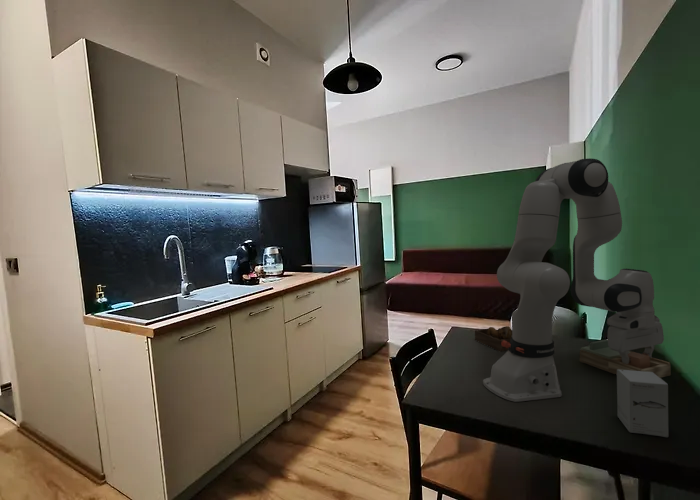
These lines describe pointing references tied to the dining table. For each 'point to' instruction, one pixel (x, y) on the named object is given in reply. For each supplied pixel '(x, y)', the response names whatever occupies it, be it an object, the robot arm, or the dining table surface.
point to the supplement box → (642, 402)
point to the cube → (639, 360)
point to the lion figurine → (500, 332)
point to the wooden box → (612, 365)
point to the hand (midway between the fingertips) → (636, 360)
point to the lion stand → (490, 340)
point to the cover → (601, 349)
